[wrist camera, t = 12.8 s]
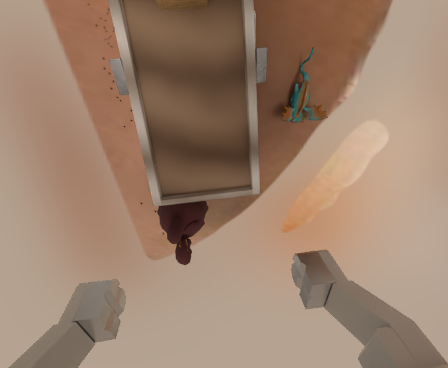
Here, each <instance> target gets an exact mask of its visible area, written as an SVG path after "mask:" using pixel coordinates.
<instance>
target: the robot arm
mask: <svg viewBox="0 0 448 368" xmlns="http://www.w3.org/2000/svg"><path fill="white" fill-rule="evenodd" d="M293 260H294V262H295V263H294V264H292V269H291V270H292V277H293V280H294V283H295V285H296V286H297V287H298V288H300V289H301V291H300V297H301V299H302V301H303V304H304V306H305V308H306V309H311V308H319V307H324V308H325V309H326V310H327V311H328V312H329V313H330V314H331V315H332V316H333V317H335V318H336V319H337V320H338V321H339V322H340V323H341V324H342V325H343V326H344V327H345V328H346V329H347V330H348V331H350V332H351V333H352V334H353V335H354V336H355V337H356V338H357V339H358V340H359V341H360V342H361V343H362V344H364V345H365V347H364V348H363V350H362V351H361V353H360V354H359V357H358V360H359V361H360V364H361V366H362V367H363V368H448V363H447V362H446V361H445V360H444V358H443V357H442V356H441V355H440V353H439V352H438V351H437V350H436V348H435V347H434V346H433V345H432V343H431V342H430V341H429V340H428V338H427V337H426V336H425V335H424V333H423V332H422V331H421V330H420V328H419V327H418V326H417V325H416V323H415V322H414V321H413V320H411V319H410V318H408V317H406V316H405V315H403V314H402V313H400V312H399V311H397V310H396V309H394V308H393V307H391V306H390V305H388V304H387V303H385V302H384V301H382V300H380V299H379V298H378V297H376V296H375V295H373V294H371V293H370V292H368V291H367V290H365V289H364V288H362V287H361V286H359V285H358V284H356V283H355V282H353V281H348V279H347V278H346V277H345V275H344V273H343V272H342V270H341V269H340V267H339V266H338V264H337V263H336V262H335V260H334V259H333V257H332V256H331V254H330V253H329V251H328V250H319V251H310V252H305V253H298V254H295V255H294V256H293ZM125 299H126V297H125V292H124V290H123V289H122V288H120V287H119V281H118V280H117V279H113V280H106V281H98V282H88V283H82V284H79V285H78V286H77V287H76V289H75V291H74V293H73V295H72V297H71V299H70V301H69V303H68V305H67V307H66V309H65V311H64V313H63V315H62V317H61V319H60V321H59V323H58V324H56V325H53V326H52V327H51V328H50V329H49V330H48V331H47V332H46V333H45V334H44V335H43V336H42V337H41V338H40V339H39V340H38V341H37V342H35V343H34V344H33V345H32V346H31V347H30V348H29V349H28V350H27V351H26V352H25V353H24V354H23V355H22V356H21V357H20V358H18V359H17V360H16V361H15V362H14V363H13V364H12V365H11V366H10V367H9V368H78V366H79V365H80V364H81V362H82V361H83V360H84V358H85V357H86V356H87V354H88V353H89V352H90V350H91V349H92V348H93V346H94V345H95V342H101V341H106V340H112V339H116V336H117V332H118V328H119V325H120V319H119V315H120V314H121V313H122V312H123V310H124V307H125Z"/></svg>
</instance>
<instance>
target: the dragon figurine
mask: <svg viewBox="0 0 448 368" xmlns="http://www.w3.org/2000/svg"><path fill="white" fill-rule="evenodd" d="M313 48H314V46H313ZM313 48H312V51H311V54H310V56H309V58H308V59H307V60H305V61H304V62H303V63H302V65H301V69H300V72H301V74H302V75H303V84H302V87H301V88H300V90H299V89H298V85H299V84H298V83H296V84H295V91H294V95H293V93H292V95H291V107H292V108H291V107H290V106H289V107H288V108H287V107H285V106H284V107H285V109H286V113H283V112H282V113H283V118H281V120H284V121H291V122H292V123H297V122H302V123H303V122H304V121H303V120H304V119H305V120H307V118H306V117H307V116H306V115H304V114H302V113H301V112H302V110H305V111H307V112H308V114H309V120H321V119H325V118H328V117H327V116H326V114H325V113H326V111H324V112H321V107H322V105H320V106H318V107H316V106H315V105H314V106H313V107H309V108H306V107H305V106H306V104H307V103H308V100H309V77H308V74H307V73H306V72H304V71H303V70H302V67H303V64H304V63H305V62H307V61H308V60H309V59H310V58H311V56H312V54H313ZM302 119H303V120H302Z"/></svg>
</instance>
